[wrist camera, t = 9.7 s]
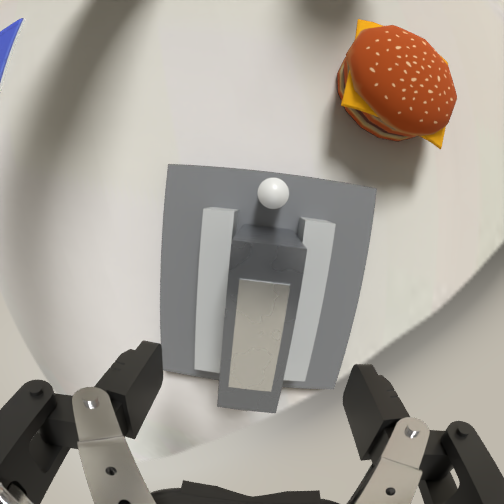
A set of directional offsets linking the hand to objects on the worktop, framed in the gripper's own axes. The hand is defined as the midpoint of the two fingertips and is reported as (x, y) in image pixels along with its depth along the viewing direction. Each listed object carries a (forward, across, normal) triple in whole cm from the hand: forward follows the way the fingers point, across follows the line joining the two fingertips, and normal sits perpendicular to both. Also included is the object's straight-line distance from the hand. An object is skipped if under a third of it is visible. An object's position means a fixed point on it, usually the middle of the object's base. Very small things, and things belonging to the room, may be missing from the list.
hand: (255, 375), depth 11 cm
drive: (+11, 0, 0) cm, 11 cm away
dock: (+13, 0, 0) cm, 13 cm away
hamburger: (+13, -9, -18) cm, 24 cm away
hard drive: (+14, +40, -26) cm, 50 cm away
